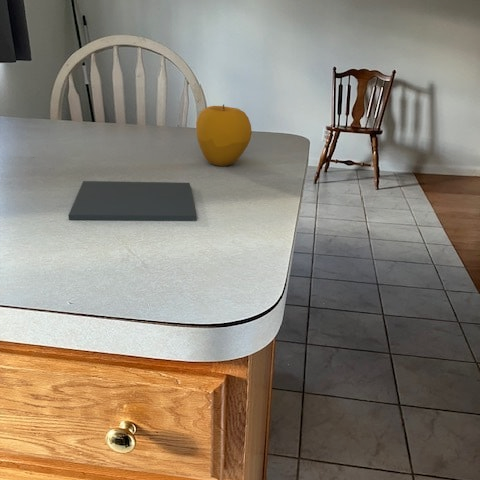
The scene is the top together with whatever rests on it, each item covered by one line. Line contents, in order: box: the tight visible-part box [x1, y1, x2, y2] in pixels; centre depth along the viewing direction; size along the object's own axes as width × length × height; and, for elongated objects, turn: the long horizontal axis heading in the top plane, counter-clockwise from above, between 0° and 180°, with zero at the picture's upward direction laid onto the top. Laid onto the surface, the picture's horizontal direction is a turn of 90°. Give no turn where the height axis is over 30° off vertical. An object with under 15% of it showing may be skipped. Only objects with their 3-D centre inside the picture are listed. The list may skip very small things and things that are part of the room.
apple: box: [195, 104, 253, 167], centre depth 84 cm, size 8×8×9 cm
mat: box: [68, 180, 197, 222], centre depth 66 cm, size 14×14×1 cm
